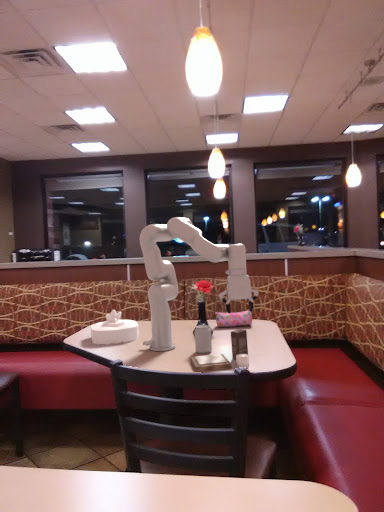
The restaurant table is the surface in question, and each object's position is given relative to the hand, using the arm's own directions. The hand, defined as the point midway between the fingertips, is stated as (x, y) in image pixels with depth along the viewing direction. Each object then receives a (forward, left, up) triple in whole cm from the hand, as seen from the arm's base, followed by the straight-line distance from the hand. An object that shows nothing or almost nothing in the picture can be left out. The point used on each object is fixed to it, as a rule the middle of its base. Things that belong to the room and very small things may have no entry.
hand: (239, 312), depth 172 cm
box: (-1, -2, -20) cm, 20 cm away
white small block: (-3, -13, -20) cm, 24 cm away
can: (-14, +13, -20) cm, 28 cm away
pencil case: (+13, +61, -20) cm, 65 cm away
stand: (-15, -7, -20) cm, 26 cm away
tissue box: (-56, +56, -20) cm, 82 cm away
